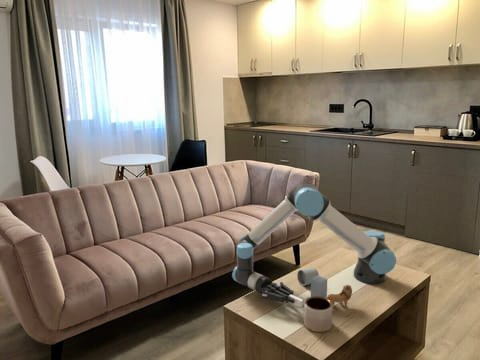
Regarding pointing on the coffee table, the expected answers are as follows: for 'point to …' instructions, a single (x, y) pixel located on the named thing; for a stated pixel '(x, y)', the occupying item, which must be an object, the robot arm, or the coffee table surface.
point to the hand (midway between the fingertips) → (302, 303)
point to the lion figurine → (341, 296)
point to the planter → (318, 314)
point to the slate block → (319, 286)
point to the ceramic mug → (306, 276)
